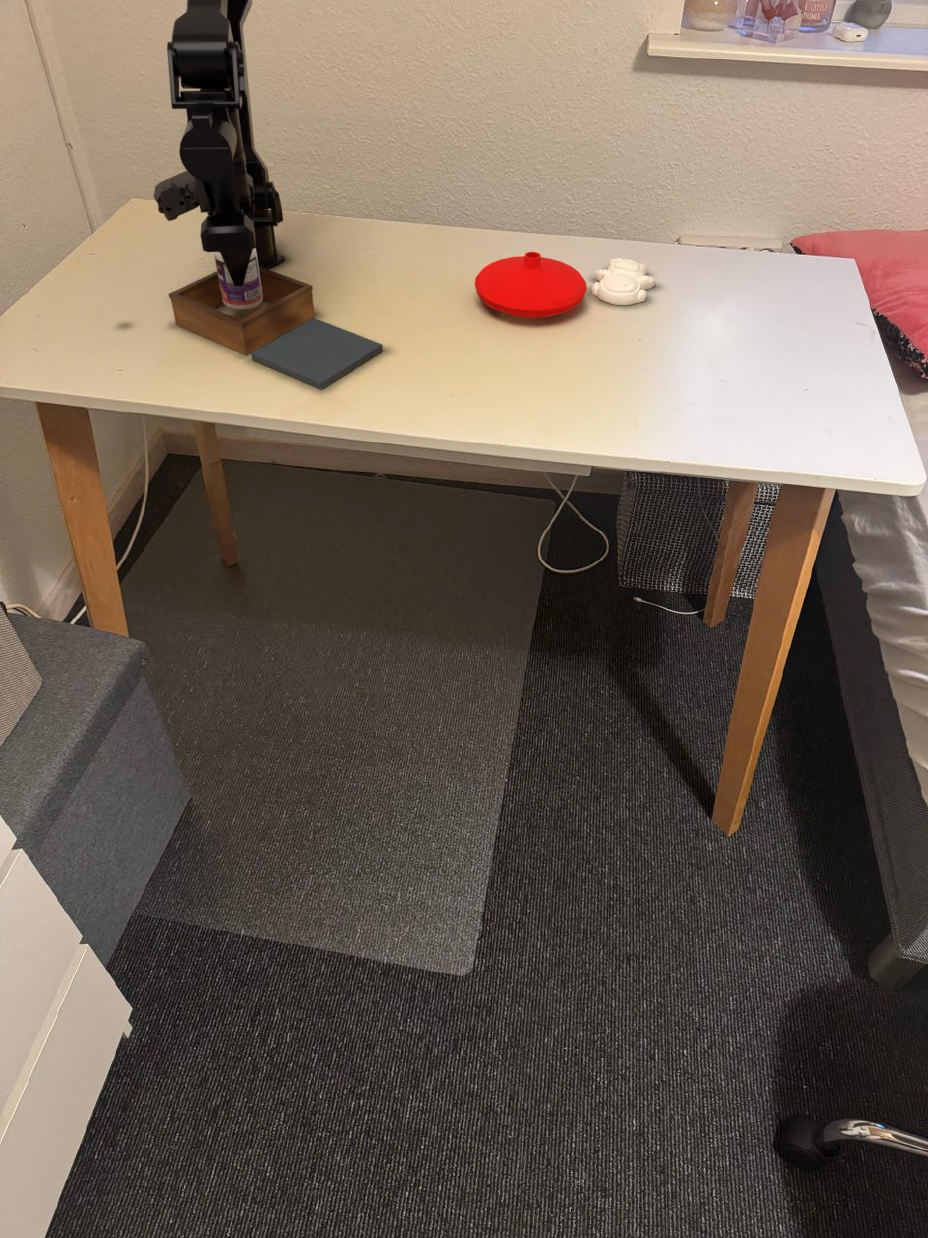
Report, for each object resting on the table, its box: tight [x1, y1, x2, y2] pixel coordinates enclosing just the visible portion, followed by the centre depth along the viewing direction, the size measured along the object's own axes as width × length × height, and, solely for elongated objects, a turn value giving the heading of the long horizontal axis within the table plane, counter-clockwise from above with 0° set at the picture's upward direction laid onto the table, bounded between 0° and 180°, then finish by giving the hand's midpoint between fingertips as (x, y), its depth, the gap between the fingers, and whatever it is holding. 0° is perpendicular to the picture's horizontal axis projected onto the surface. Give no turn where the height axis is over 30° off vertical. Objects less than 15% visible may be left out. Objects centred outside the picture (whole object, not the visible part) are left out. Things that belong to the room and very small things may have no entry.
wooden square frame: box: [168, 266, 316, 356], centre depth 127 cm, size 13×13×4 cm
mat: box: [250, 317, 384, 391], centre depth 122 cm, size 12×12×1 cm
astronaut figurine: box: [591, 257, 657, 306], centre depth 137 cm, size 9×12×3 cm
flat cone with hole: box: [474, 251, 588, 319], centre depth 131 cm, size 16×16×7 cm
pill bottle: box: [213, 248, 263, 310], centre depth 123 cm, size 5×5×10 cm
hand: (238, 275), depth 124 cm, fingers closed on pill bottle, 5 cm apart
